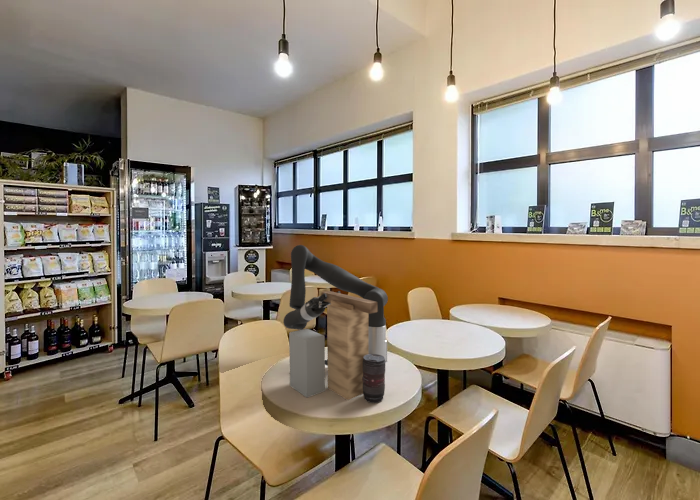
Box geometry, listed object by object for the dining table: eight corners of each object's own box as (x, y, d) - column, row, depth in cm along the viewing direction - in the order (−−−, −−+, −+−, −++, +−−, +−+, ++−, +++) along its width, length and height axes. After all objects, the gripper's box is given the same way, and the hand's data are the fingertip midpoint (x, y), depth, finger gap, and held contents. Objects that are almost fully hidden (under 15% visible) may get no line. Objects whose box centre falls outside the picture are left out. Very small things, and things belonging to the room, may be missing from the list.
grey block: (307, 380, 138) (306, 328, 136) (325, 390, 129) (324, 335, 127) (289, 385, 133) (289, 332, 131) (306, 397, 123) (306, 340, 122)
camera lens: (384, 405, 118) (384, 362, 117) (360, 402, 120) (360, 360, 119) (386, 394, 126) (386, 354, 125) (364, 392, 127) (364, 352, 127)
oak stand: (348, 380, 137) (347, 297, 135) (368, 391, 128) (368, 302, 126) (327, 388, 131) (327, 301, 129) (347, 400, 121) (347, 306, 119)
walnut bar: (326, 298, 141) (326, 287, 141) (378, 311, 118) (378, 299, 118) (318, 299, 138) (318, 289, 138) (369, 313, 115) (369, 300, 115)
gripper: (295, 303, 142) (314, 287, 131) (323, 298, 151) (344, 283, 140) (300, 320, 140) (320, 306, 128) (328, 314, 149) (350, 300, 137)
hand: (333, 294), depth 134 cm, fingers open, 6 cm apart
